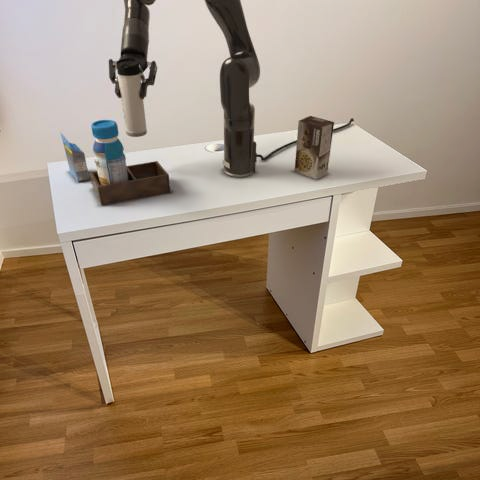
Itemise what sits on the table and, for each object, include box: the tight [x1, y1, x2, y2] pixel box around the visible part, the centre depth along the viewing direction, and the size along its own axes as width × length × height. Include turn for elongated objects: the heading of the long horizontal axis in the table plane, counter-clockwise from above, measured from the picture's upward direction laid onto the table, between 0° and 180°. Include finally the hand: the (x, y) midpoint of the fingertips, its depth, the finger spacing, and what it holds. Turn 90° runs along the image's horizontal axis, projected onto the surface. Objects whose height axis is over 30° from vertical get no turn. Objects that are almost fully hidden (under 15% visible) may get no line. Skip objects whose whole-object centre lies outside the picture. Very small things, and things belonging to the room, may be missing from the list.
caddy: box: [89, 160, 171, 206], centre depth 134 cm, size 20×11×6 cm, turn 115°
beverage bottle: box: [91, 119, 128, 186], centre depth 128 cm, size 8×8×20 cm
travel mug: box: [116, 57, 148, 138], centre depth 134 cm, size 6×7×20 cm
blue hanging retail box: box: [60, 133, 90, 183], centre depth 140 cm, size 9×4×12 cm, turn 32°
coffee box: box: [294, 115, 335, 180], centre depth 143 cm, size 9×6×16 cm
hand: (130, 97), depth 132 cm, fingers closed on travel mug, 6 cm apart
